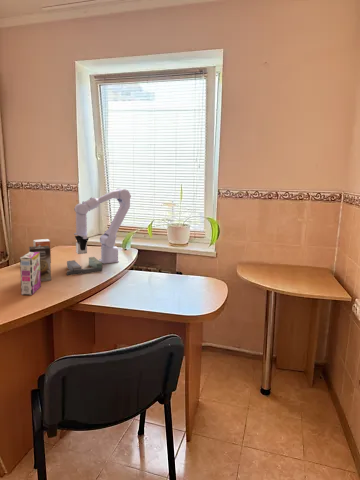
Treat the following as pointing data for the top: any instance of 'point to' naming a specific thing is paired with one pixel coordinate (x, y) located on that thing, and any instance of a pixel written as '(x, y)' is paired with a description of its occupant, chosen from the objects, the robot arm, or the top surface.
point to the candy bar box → (30, 273)
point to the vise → (93, 263)
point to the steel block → (78, 249)
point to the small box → (42, 244)
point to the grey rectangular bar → (73, 265)
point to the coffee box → (43, 261)
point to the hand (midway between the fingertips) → (81, 249)
